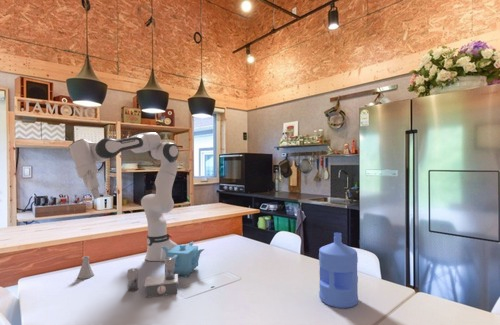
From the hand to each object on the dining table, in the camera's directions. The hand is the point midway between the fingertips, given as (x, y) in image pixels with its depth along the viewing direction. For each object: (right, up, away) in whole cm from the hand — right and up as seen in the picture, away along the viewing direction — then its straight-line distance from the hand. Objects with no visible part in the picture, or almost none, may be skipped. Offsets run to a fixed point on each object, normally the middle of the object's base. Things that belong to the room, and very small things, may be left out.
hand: (97, 198), depth 140 cm
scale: (+36, -41, -12) cm, 56 cm away
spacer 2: (+39, -35, -11) cm, 54 cm away
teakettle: (+40, -41, +11) cm, 59 cm away
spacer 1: (+22, -41, -10) cm, 47 cm away
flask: (-9, -42, +6) cm, 43 cm away
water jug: (+113, -40, -21) cm, 122 cm away
